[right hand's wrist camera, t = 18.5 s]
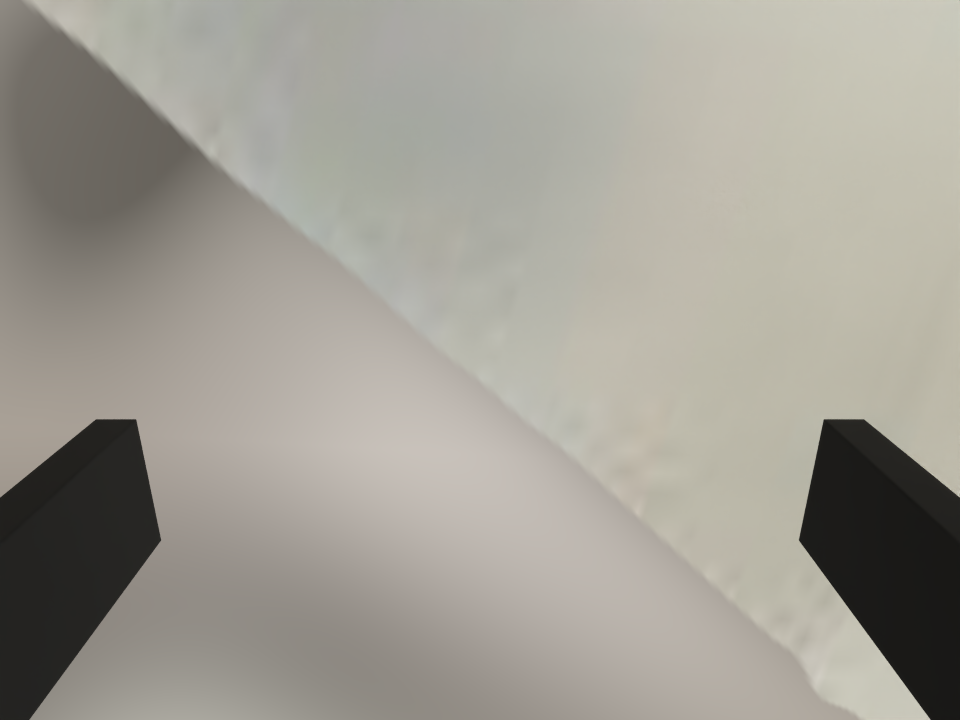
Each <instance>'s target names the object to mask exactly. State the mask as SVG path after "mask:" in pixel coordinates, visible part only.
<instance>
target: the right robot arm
mask: <svg viewBox="0 0 960 720" xmlns="http://www.w3.org/2000/svg"><path fill="white" fill-rule="evenodd" d="M160 541H161V538H160V533H159V528H158V523H157V518H156V513H155V508H154V504H153V499H152V494H151V489H150V485H149V479H148V475H147V470H146V465H145V460H144V455H143V450H142V445H141V441H140V436H139V431H138V426H137V421H136V419H132V420H131V419H120V420H119V419H118V420H117V419H113V420H110V419H103V420H102V419H97V420H95V421H94V422H92V423H91V424H90V425H89V426H88V427H86V428H85V429H84V430H83V431H81V432H80V433H79V434H78V435H76V436H75V437H74V438H73V439H71V440H70V441H69V442H68V443H67V444H65V445H64V446H63V447H62V448H61V449H59V450H58V451H57V452H56V453H54V454H53V455H52V456H51V457H49V458H48V459H47V460H46V461H45V462H43V463H42V464H41V465H40V466H38V467H37V468H36V469H35V470H34V471H32V472H31V473H30V474H29V475H27V476H26V477H25V478H24V479H23V480H21V481H20V482H19V483H18V484H16V485H15V486H14V487H13V488H12V489H10V490H9V491H8V492H7V493H5V494H4V495H3V496H2V497H0V720H29V719H30V718H31V717H32V715H33V714H34V713H35V711H36V710H37V708H38V707H39V706H40V704H41V703H42V702H43V700H44V699H45V698H46V696H47V695H48V694H49V692H50V691H51V689H52V688H53V687H54V685H55V684H56V683H57V681H58V680H59V679H60V677H61V676H62V674H63V673H64V672H65V670H66V669H67V668H68V666H69V665H70V664H71V662H72V661H73V660H74V658H75V657H76V655H77V654H78V653H79V651H80V650H81V649H82V647H83V646H84V644H85V643H86V642H87V640H88V639H89V638H90V636H91V635H92V634H93V632H94V631H95V630H96V628H97V627H98V625H99V624H100V623H101V621H102V620H103V619H104V617H105V616H106V614H107V613H108V612H109V610H110V609H111V608H112V606H113V605H114V604H115V602H116V601H117V599H118V598H119V597H120V595H121V594H122V593H123V591H124V590H125V589H126V587H127V586H128V585H129V583H130V582H131V580H132V579H133V578H134V576H135V575H136V574H137V572H138V571H139V570H140V568H141V567H142V566H143V564H144V563H145V561H146V560H147V559H148V557H149V556H150V555H151V553H152V552H153V551H154V549H155V548H156V546H157V545H158V544H159V542H160ZM799 541H800V542H801V544H802V545H803V546H804V548H805V549H806V551H807V552H808V553H809V555H810V556H811V557H812V559H813V560H814V561H815V563H816V564H817V566H818V567H819V568H820V570H821V571H822V572H823V574H824V575H825V576H826V578H827V579H828V581H829V582H830V583H831V585H832V586H833V587H834V589H835V590H836V591H837V593H838V594H839V596H840V597H841V598H842V600H843V601H844V602H845V604H846V605H847V606H848V608H849V609H850V610H851V612H852V613H853V615H854V616H855V617H856V619H857V620H858V621H859V623H860V624H861V625H862V627H863V628H864V630H865V631H866V632H867V634H868V635H869V636H870V638H871V639H872V640H873V642H874V643H875V645H876V646H877V647H878V649H879V650H880V651H881V653H882V654H883V655H884V657H885V658H886V660H887V661H888V662H889V664H890V665H891V666H892V668H893V669H894V670H895V672H896V673H897V674H898V676H899V677H900V679H901V680H902V681H903V683H904V684H905V685H906V687H907V688H908V689H909V691H910V692H911V694H912V695H913V696H914V698H915V699H916V700H917V702H918V703H919V704H920V706H921V707H922V709H923V710H924V711H925V713H926V714H927V715H928V717H929V718H930V719H931V720H960V497H958V496H957V495H956V494H955V493H953V492H952V491H951V490H950V489H949V488H947V487H946V486H945V485H944V484H942V483H941V482H940V481H939V480H938V479H936V478H935V477H934V476H933V475H931V474H930V473H929V472H928V471H926V470H925V469H924V468H923V467H922V466H920V465H919V464H918V463H917V462H915V461H914V460H913V459H912V458H911V457H909V456H908V455H907V454H906V453H904V452H903V451H902V450H901V449H900V448H898V447H897V446H896V445H895V444H893V443H892V442H891V441H890V440H889V439H887V438H886V437H885V436H884V435H882V434H881V433H880V432H879V431H877V430H876V429H875V428H874V427H873V426H871V425H870V424H869V423H868V422H866V421H865V420H864V419H824V421H823V426H822V431H821V436H820V441H819V445H818V450H817V455H816V460H815V465H814V470H813V475H812V479H811V484H810V489H809V494H808V499H807V504H806V508H805V513H804V518H803V523H802V528H801V533H800V538H799Z"/></svg>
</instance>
